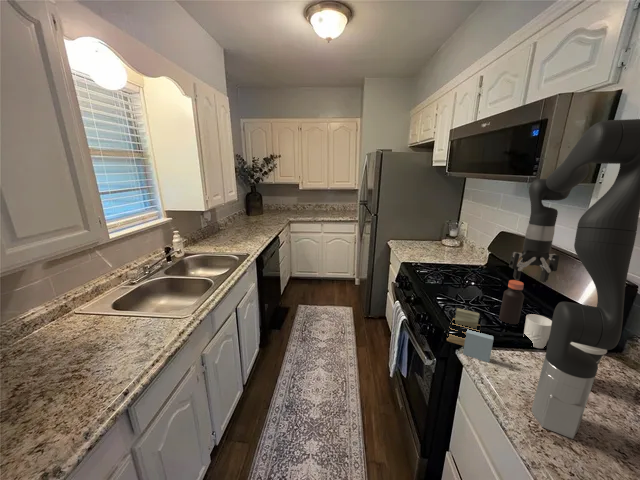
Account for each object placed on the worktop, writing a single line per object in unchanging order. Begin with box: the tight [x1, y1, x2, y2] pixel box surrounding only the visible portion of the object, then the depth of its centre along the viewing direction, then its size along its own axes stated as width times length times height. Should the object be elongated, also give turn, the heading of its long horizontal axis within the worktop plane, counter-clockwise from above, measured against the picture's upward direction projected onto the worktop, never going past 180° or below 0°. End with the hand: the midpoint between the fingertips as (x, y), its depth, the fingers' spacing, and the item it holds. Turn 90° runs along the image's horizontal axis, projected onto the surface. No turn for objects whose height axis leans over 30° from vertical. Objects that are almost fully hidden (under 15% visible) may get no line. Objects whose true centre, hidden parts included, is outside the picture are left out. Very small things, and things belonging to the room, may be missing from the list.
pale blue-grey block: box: [462, 329, 494, 363], centre depth 92 cm, size 2×8×9 cm, turn 58°
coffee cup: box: [570, 342, 608, 365], centre depth 80 cm, size 10×10×15 cm
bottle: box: [498, 279, 525, 325], centre depth 108 cm, size 7×7×20 cm
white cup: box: [523, 313, 552, 349], centre depth 98 cm, size 8×8×10 cm
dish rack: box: [446, 307, 481, 347], centre depth 103 cm, size 14×11×9 cm
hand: (529, 280), depth 95 cm, fingers open, 8 cm apart
